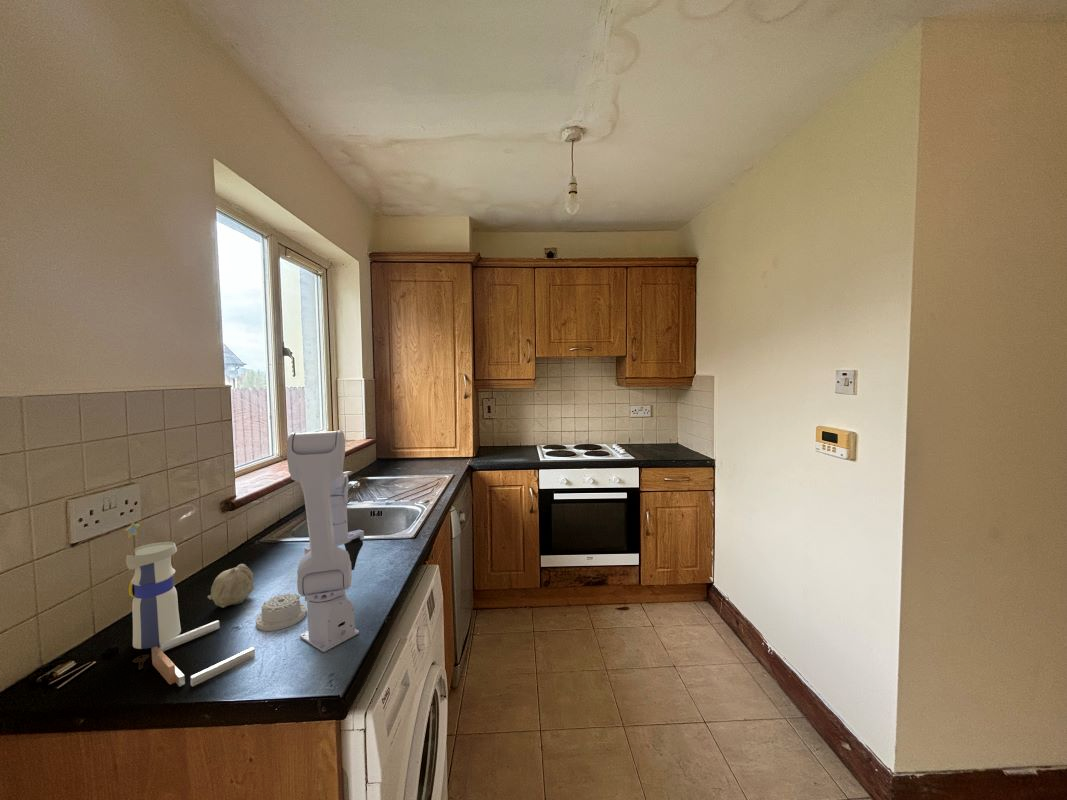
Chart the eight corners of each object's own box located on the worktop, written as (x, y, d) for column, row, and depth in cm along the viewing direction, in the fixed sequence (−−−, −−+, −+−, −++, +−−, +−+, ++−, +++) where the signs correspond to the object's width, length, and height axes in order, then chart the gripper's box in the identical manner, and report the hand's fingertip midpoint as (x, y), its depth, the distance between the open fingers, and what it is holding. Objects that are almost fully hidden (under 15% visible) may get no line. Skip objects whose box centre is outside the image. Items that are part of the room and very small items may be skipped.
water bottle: (120, 655, 85) (113, 531, 84) (140, 632, 93) (133, 518, 92) (172, 644, 88) (166, 525, 87) (187, 623, 96) (181, 513, 95)
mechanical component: (314, 617, 98) (295, 603, 105) (313, 598, 98) (295, 585, 104) (265, 638, 91) (249, 621, 97) (265, 617, 90) (248, 602, 97)
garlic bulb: (247, 603, 109) (258, 561, 112) (252, 610, 103) (264, 566, 106) (202, 603, 104) (215, 560, 106) (204, 611, 97) (218, 565, 100)
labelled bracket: (254, 656, 84) (254, 640, 84) (177, 694, 74) (176, 676, 74) (218, 627, 94) (217, 612, 94) (146, 656, 84) (145, 640, 84)
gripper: (352, 511, 115) (354, 560, 116) (297, 527, 103) (299, 582, 104) (368, 515, 111) (369, 567, 112) (312, 532, 99) (314, 590, 100)
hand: (336, 574), depth 107 cm, fingers open, 7 cm apart
